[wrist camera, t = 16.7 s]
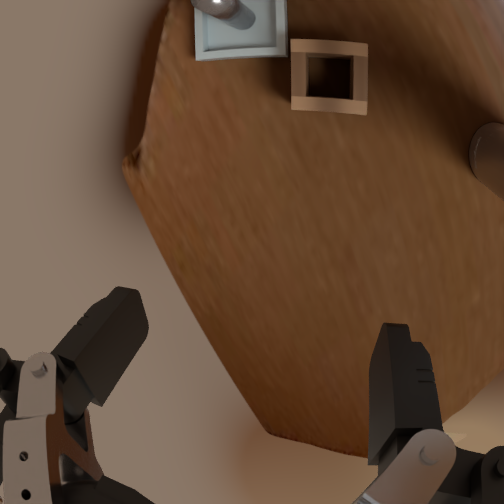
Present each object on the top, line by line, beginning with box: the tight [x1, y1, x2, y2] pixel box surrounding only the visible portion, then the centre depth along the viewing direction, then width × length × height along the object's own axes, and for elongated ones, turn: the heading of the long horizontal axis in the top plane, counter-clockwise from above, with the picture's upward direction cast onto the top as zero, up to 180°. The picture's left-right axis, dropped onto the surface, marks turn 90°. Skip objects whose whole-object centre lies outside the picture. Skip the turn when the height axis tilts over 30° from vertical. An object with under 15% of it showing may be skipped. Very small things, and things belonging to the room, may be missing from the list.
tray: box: [195, 0, 288, 61], centre depth 30 cm, size 11×11×2 cm
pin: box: [191, 0, 256, 30], centre depth 26 cm, size 3×3×12 cm
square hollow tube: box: [291, 39, 368, 115], centre depth 30 cm, size 8×8×6 cm
